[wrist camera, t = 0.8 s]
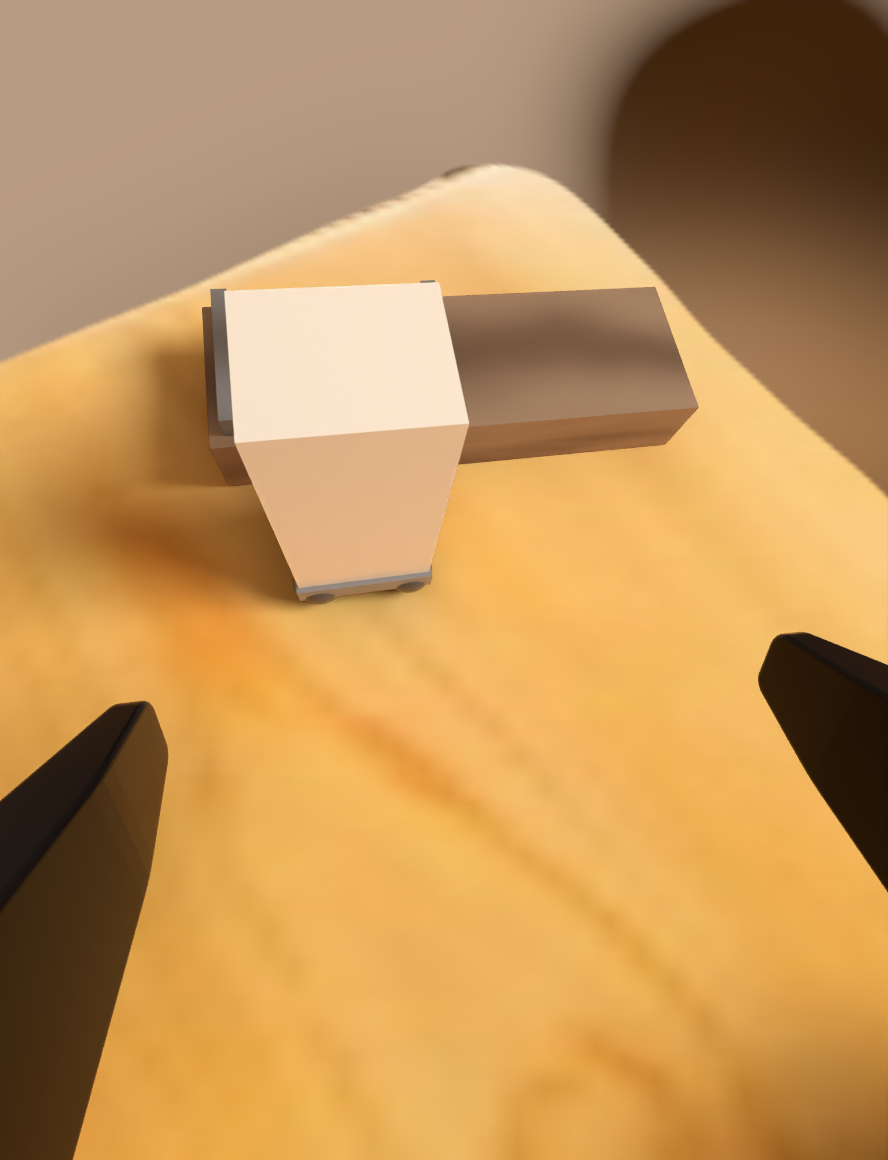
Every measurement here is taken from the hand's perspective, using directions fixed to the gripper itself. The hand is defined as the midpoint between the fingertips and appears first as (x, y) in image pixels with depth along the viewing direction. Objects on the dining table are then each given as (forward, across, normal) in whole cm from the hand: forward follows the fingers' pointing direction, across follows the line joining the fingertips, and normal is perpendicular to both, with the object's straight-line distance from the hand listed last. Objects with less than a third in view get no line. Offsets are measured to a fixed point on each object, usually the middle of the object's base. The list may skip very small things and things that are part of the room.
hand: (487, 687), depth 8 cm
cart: (+15, +2, +6) cm, 17 cm away
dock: (+21, -3, +1) cm, 21 cm away
